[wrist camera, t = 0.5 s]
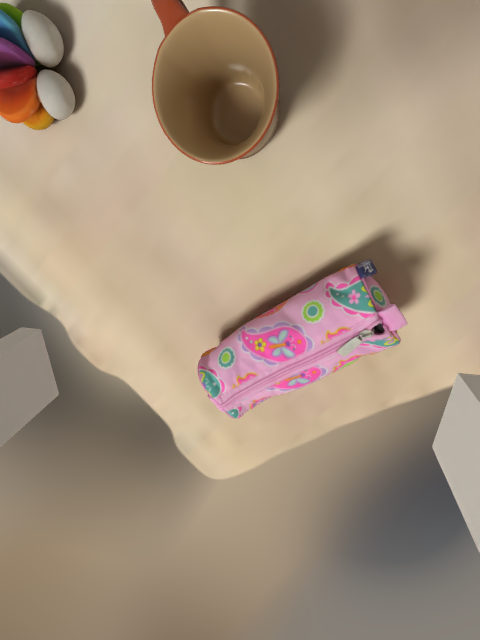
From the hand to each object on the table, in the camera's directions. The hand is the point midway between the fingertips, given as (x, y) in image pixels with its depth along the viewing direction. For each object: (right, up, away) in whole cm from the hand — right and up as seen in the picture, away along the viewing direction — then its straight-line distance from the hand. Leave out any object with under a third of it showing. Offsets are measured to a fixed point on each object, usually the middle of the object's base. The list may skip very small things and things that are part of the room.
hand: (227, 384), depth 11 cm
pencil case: (+7, +1, +28) cm, 29 cm away
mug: (0, +23, +20) cm, 30 cm away
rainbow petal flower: (-20, +27, +23) cm, 40 cm away
